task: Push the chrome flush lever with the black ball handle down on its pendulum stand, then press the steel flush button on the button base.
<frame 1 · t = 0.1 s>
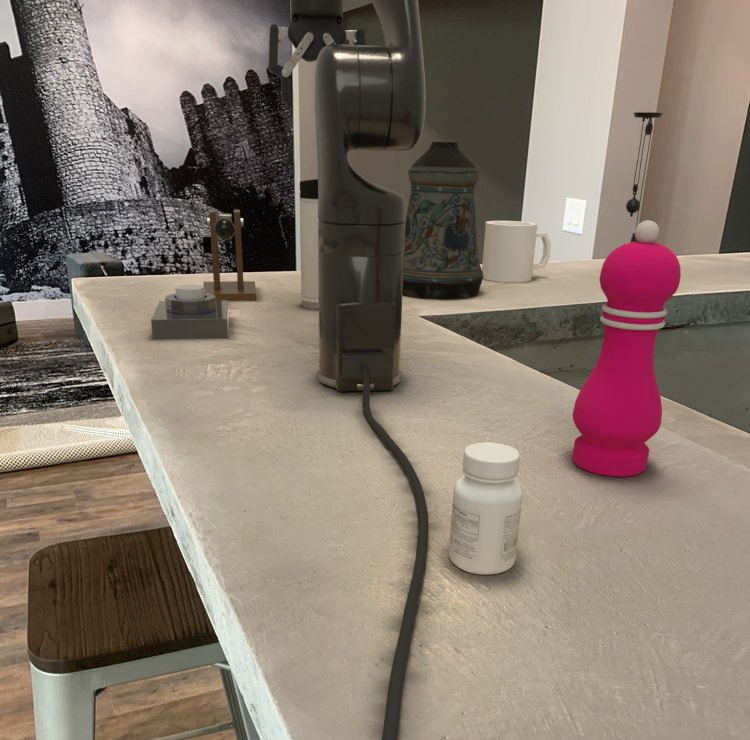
hand: (317, 107, 115), 29 cm above the bar counter, tool pointing down, fingers open, 8 cm apart
travel mug: (321, 307, 126), on the bar counter
button base: (193, 328, 110), on the bar counter
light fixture: (627, 271, 170), on the bar counter
pepper mill: (608, 465, 67), on the bar counter
pendulum stand: (229, 294, 133), on the bar counter
flush button: (190, 293, 107), point 5 cm above the bar counter, slide at 0.1 cm
mug: (511, 279, 157), on the bar counter
pill bottle: (481, 562, 51), on the bar counter
beer stein: (431, 291, 142), on the bar counter
flush lever: (225, 225, 123), point 12 cm above the bar counter, hinge at 0.0°
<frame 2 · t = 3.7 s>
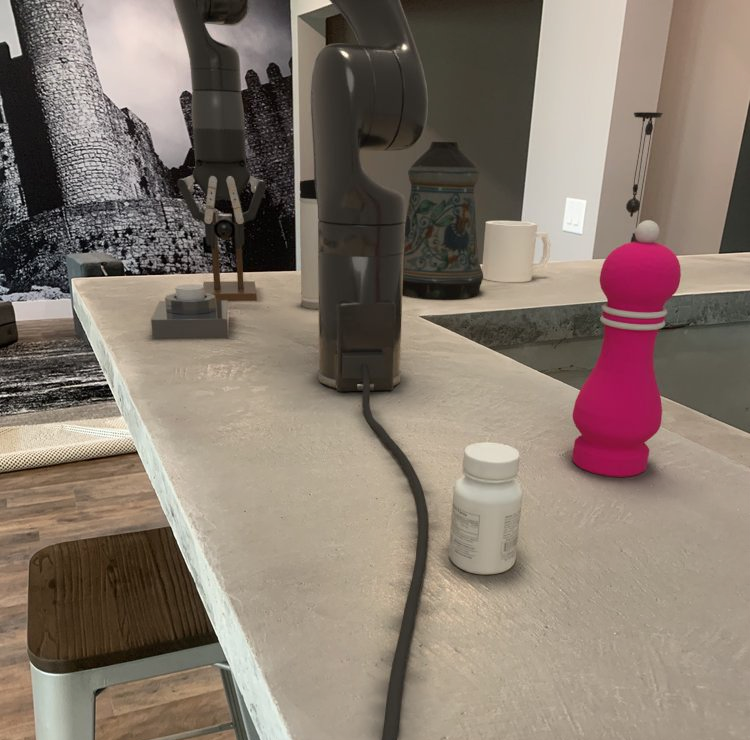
hand: (225, 248, 120), 9 cm above the bar counter, tool pointing down, fingers closed on flush lever, 3 cm apart
flush lever: (225, 225, 123), point 12 cm above the bar counter, hinge at 0.0°, touching gripper
everything else where it was.
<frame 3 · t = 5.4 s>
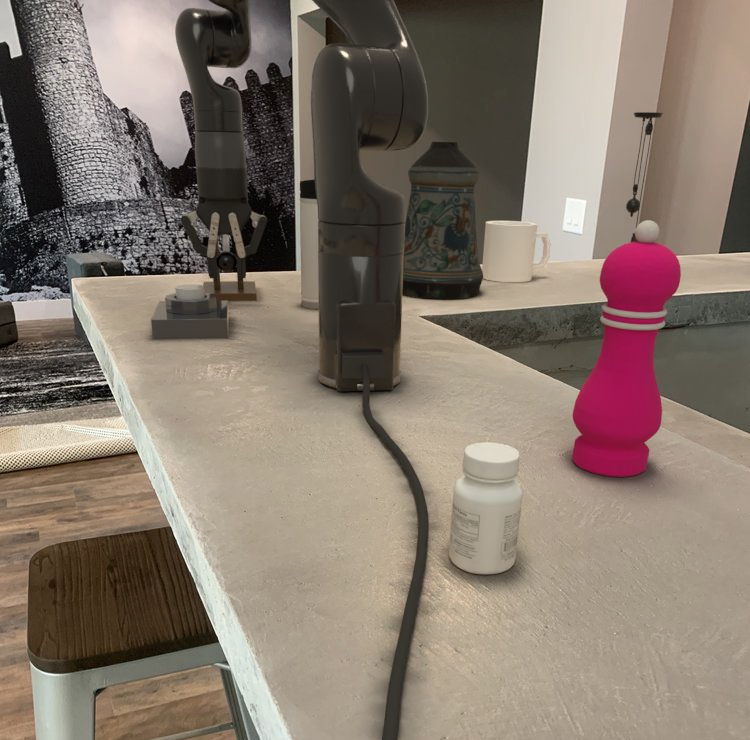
hand: (228, 280, 123), 4 cm above the bar counter, tool pointing down, fingers closed on flush lever, 3 cm apart
flush lever: (226, 241, 125), point 9 cm above the bar counter, hinge at -27.2°, touching gripper
everything else where it was.
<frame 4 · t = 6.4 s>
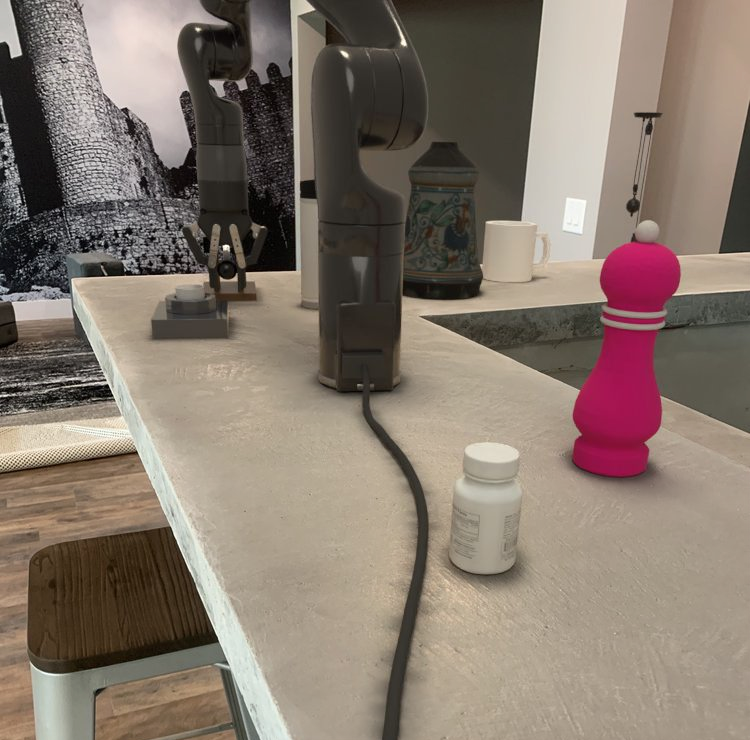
hand: (228, 290, 125), 2 cm above the bar counter, tool pointing down, fingers closed on flush lever, 3 cm apart
flush lever: (226, 245, 126), point 9 cm above the bar counter, hinge at -35.4°, touching gripper
everything else where it was.
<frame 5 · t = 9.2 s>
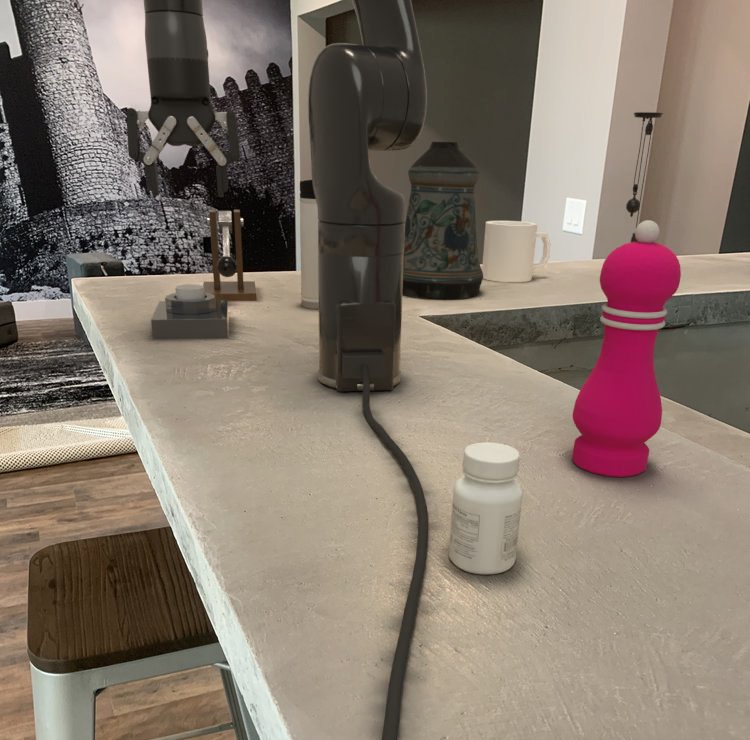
hand: (188, 195, 103), 18 cm above the bar counter, tool pointing down, fingers open, 8 cm apart
flush lever: (226, 244, 125), point 9 cm above the bar counter, hinge at -32.5°
everything else where it was.
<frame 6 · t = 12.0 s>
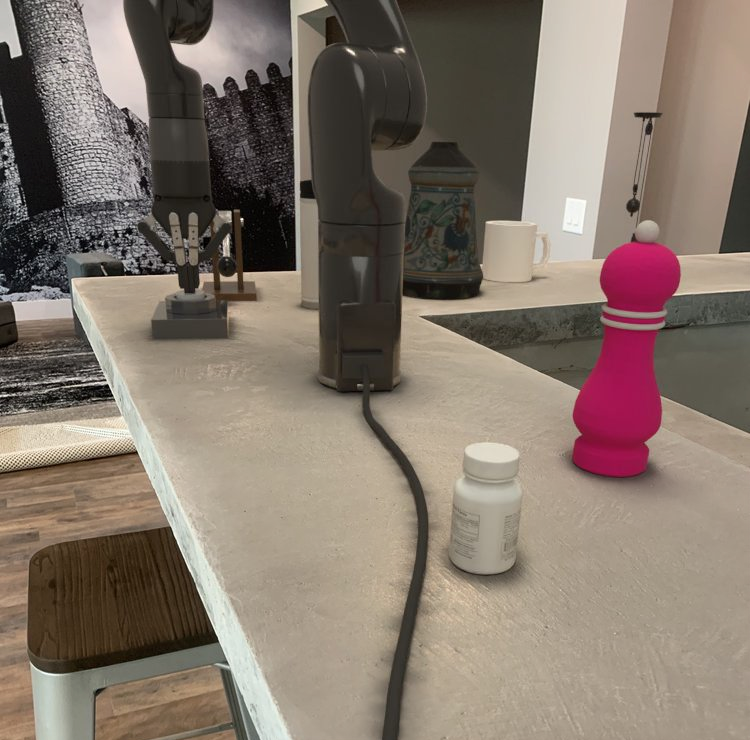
hand: (190, 291, 107), 5 cm above the bar counter, tool pointing down, fingers closed
flush button: (190, 298, 108), point 4 cm above the bar counter, slide at -0.6 cm, touching gripper
everything else where it was.
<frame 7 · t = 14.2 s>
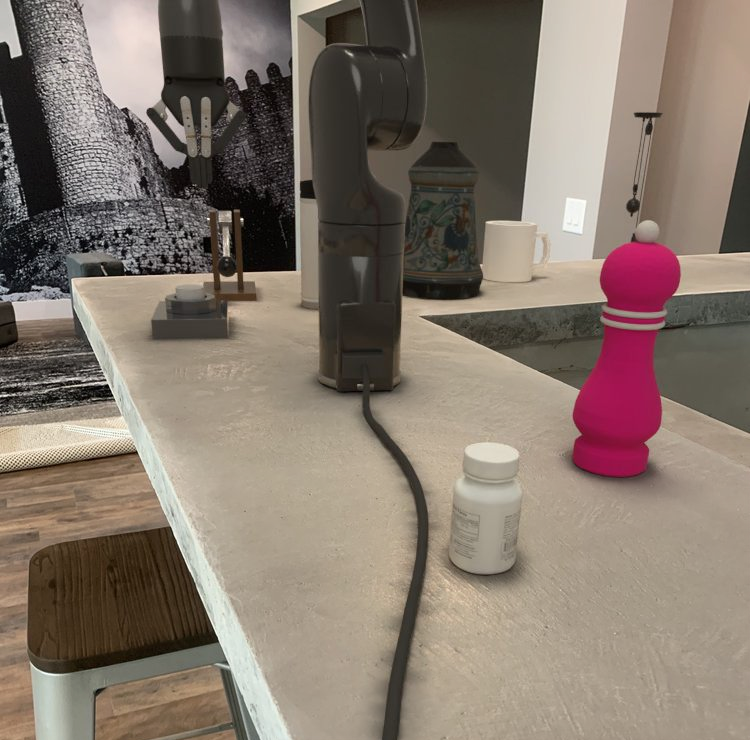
hand: (202, 188, 101), 19 cm above the bar counter, tool pointing down, fingers closed
flush button: (190, 293, 107), point 5 cm above the bar counter, slide at 0.1 cm
everything else where it was.
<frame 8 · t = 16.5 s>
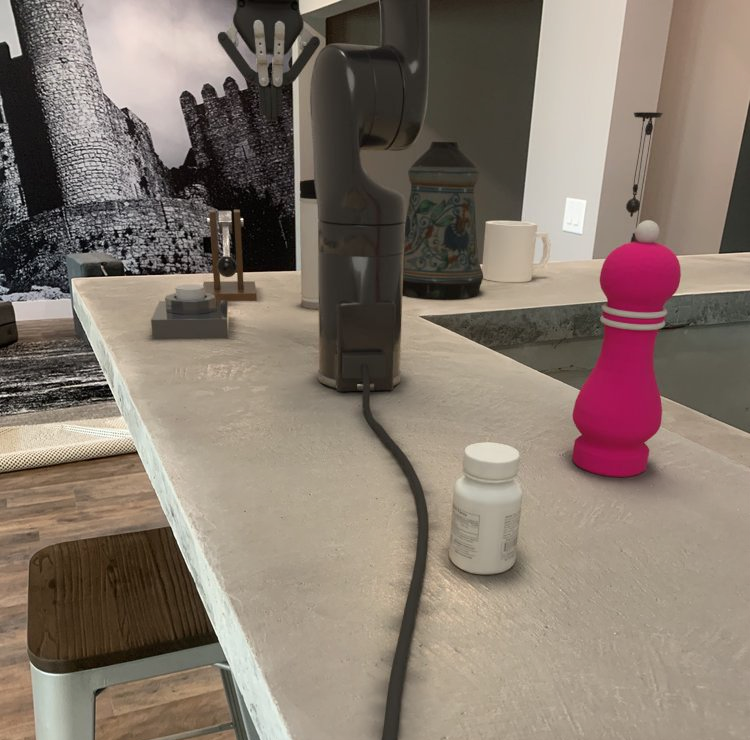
hand: (271, 120, 97), 27 cm above the bar counter, tool pointing down, fingers closed
nothing on the bar counter moved.
at the end: flush lever at -32° (first picture: +0°); flush button pushed in 1.1 cm at the most during the clip, back to where it started at the end; flush button slide at 0.1 cm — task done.
